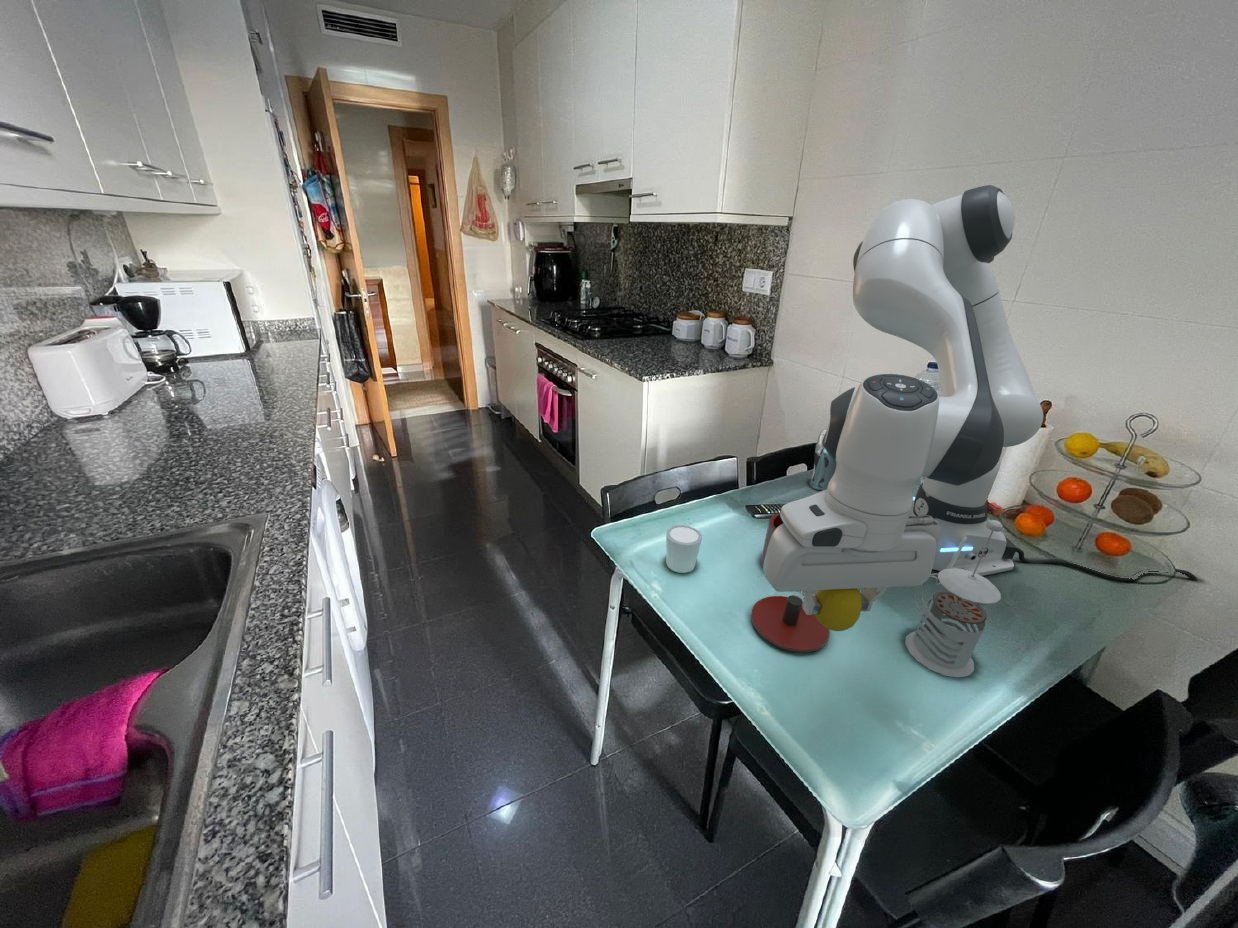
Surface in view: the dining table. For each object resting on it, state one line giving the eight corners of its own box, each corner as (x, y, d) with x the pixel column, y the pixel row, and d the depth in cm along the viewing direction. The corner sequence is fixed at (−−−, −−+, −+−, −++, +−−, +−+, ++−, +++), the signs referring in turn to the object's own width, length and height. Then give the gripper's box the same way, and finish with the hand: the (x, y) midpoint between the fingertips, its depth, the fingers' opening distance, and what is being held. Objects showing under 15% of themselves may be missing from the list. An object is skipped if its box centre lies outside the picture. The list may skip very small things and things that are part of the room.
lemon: (857, 648, 62) (874, 597, 59) (811, 640, 63) (825, 590, 60) (847, 617, 67) (862, 569, 64) (805, 610, 68) (817, 562, 65)
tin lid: (791, 594, 92) (798, 569, 90) (844, 642, 82) (853, 615, 79) (735, 611, 87) (740, 585, 85) (784, 664, 77) (791, 636, 74)
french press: (947, 685, 75) (1011, 547, 64) (882, 632, 84) (929, 504, 74) (988, 666, 79) (1056, 533, 68) (922, 617, 88) (972, 493, 77)
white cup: (657, 557, 100) (660, 528, 97) (686, 550, 103) (690, 522, 100) (673, 578, 95) (677, 547, 92) (704, 570, 97) (709, 540, 94)
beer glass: (802, 485, 132) (815, 432, 126) (813, 477, 137) (826, 426, 130) (828, 494, 128) (842, 441, 121) (838, 486, 133) (853, 434, 126)
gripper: (926, 501, 62) (895, 589, 68) (768, 505, 59) (750, 596, 65) (963, 529, 56) (926, 623, 62) (790, 535, 54) (769, 632, 60)
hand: (835, 609), depth 64 cm, fingers closed on lemon, 5 cm apart
